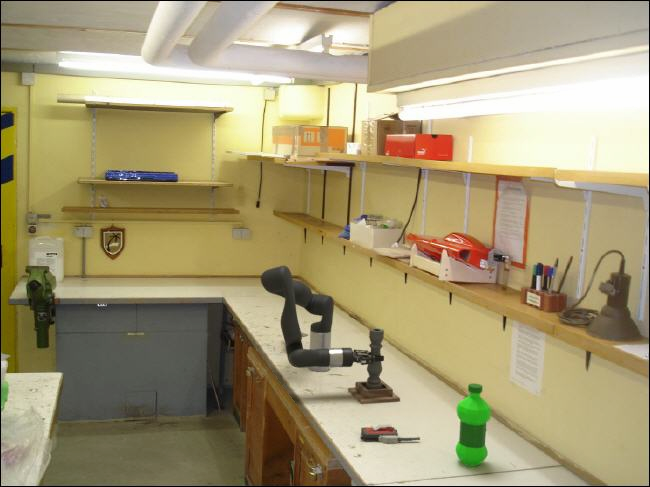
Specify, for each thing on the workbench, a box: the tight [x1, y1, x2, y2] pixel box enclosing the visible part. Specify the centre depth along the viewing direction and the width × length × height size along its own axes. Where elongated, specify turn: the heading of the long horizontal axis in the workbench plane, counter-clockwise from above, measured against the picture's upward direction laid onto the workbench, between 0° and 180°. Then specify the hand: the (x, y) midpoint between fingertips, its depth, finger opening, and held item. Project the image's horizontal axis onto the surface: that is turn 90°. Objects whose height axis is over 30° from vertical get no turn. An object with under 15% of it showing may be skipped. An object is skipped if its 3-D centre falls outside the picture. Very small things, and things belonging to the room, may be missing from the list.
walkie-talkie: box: [359, 424, 421, 444], centre depth 247 cm, size 9×4×20 cm
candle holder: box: [366, 327, 385, 390], centre depth 288 cm, size 6×6×25 cm
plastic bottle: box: [455, 383, 492, 467], centre depth 228 cm, size 10×10×25 cm
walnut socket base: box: [347, 379, 401, 405], centre depth 290 cm, size 16×16×4 cm
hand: (381, 356), depth 289 cm, fingers open, 4 cm apart
